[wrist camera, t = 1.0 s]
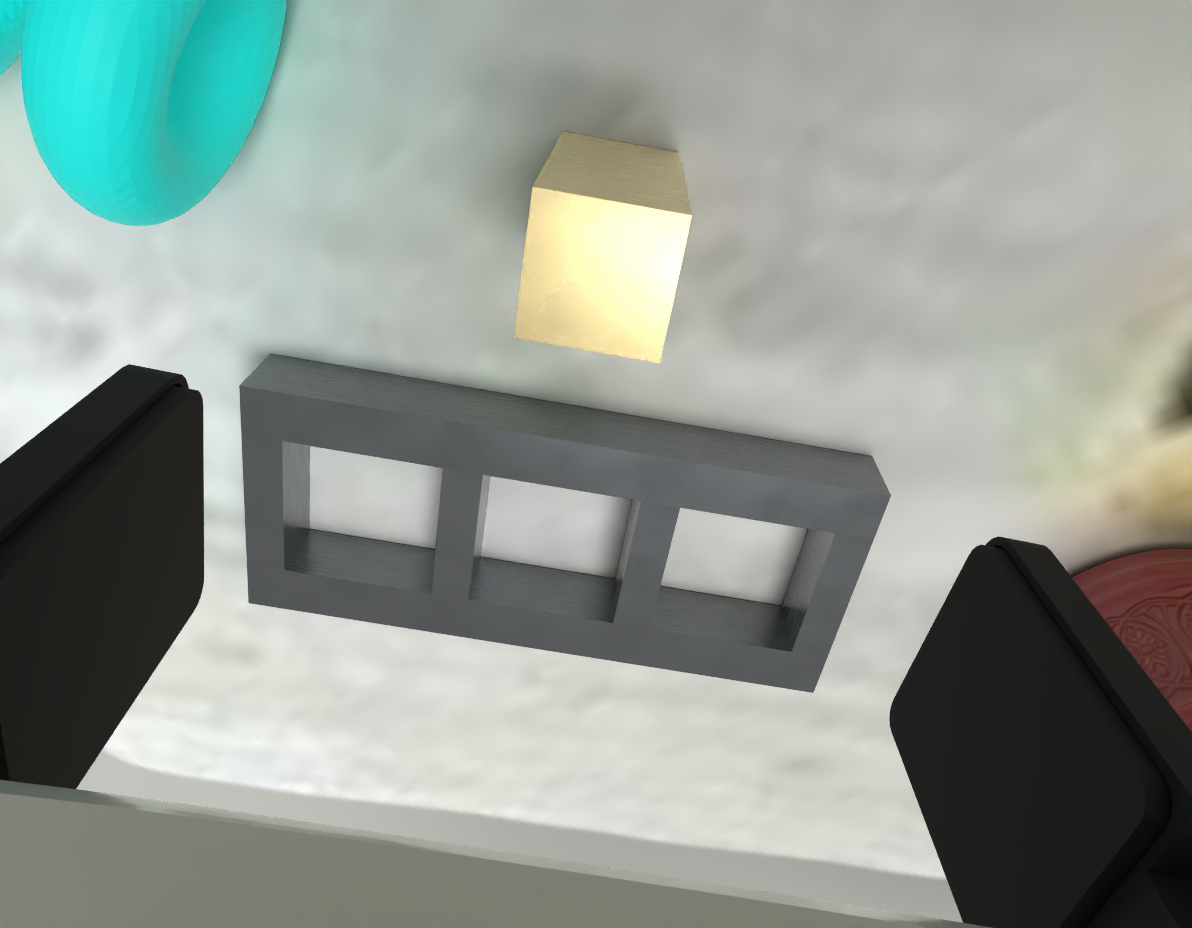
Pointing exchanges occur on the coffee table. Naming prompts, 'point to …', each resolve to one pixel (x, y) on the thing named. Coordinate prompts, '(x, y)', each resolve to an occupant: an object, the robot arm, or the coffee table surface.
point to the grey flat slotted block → (562, 459)
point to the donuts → (141, 94)
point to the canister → (1150, 616)
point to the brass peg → (603, 247)
